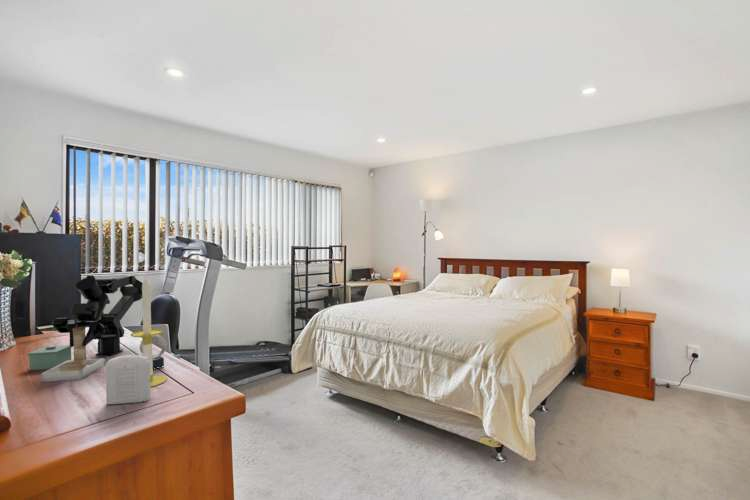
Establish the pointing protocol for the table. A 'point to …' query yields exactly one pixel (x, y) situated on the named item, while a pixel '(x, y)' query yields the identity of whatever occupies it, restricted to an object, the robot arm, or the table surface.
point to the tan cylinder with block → (76, 352)
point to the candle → (148, 332)
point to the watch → (157, 359)
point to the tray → (55, 375)
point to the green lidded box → (49, 357)
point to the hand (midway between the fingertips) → (77, 346)
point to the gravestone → (128, 379)
